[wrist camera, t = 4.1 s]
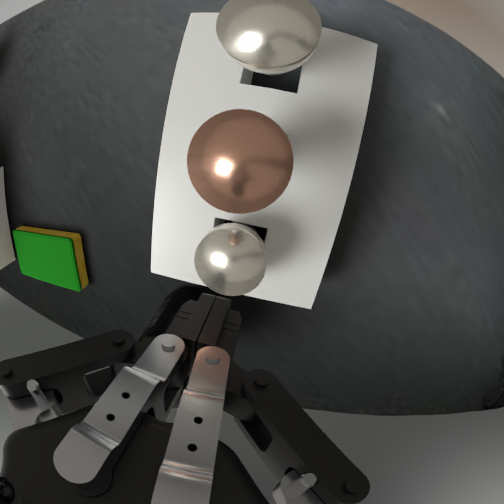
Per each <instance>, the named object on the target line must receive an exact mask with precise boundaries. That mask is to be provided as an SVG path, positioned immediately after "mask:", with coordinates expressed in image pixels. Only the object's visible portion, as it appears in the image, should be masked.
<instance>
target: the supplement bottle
mask: <svg viewBox="0 0 504 504" xmlns="http://www.w3.org/2000/svg"><path fill="white" fill-rule="evenodd" d="M202 293H203V292H201V291H198V290H195V289H190V288H183V289H178V290H175V291H173V292H172V293H170V294H169V295H168V296H167V297H166V299H165V300H164V302H163V303H162V304H161V306H160V308H159V309H158V311H157V312H156V314H155V315H154V317H153V318H152V320H151V321H150V323H149V325H148V326H147V328H146V329H145V331H144V332H143V334H142V336H141V337H140V339H139V341H138V342H152V341H153V340H154V339H155V338H156V337H157V336H159V335H162V334H165V333H166V331H167V330H168V328H169V326H170V325H171V323H172V321H173V320H174V318H175V317H176V315H177V313H178V312H179V310H180V308H181V307H182V305H183V304H184V303H186V302H187V301H189V300H194V301H198V300H199V298H200V296H201V294H202ZM189 378H190V376H189V375H187V377H186V379H185V382H184V386H183V389H182V391H181V393H180V395H179V397H178V399H177V400H176V402H175V404H174V406H173V408H178V407H179V404H180V400H181V397H182V394H183V391H184V389H185V388H187V385H188V382H189Z"/></svg>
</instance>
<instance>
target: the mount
mask: <svg viewBox="0 0 504 504" xmlns="http://www.w3.org/2000/svg"><path fill="white" fill-rule="evenodd" d="M218 15H219V13H191V15H190V18H189V21H188V25H187V28H186V31H185V35H184V38H183V42H182V46H181V49H180V53H179V57H178V61H177V65H176V69H175V74H174V78H173V82H172V87H171V92H170V97H169V102H168V107H167V112H166V118H165V124H164V130H163V136H162V143H161V149H160V157H159V165H158V173H157V182H156V192H155V203H154V216H153V231H152V253H151V272H152V273H156V274H160V275H164V276H167V277H171V278H175V279H179V280H183V281H187V282H191V283H195V284H199V285H203V286H206V285H205V284H204V283H203V282H202V281H201V279H200V278H199V276H198V274H197V272H196V269H195V264H194V256H195V252H196V249H197V247H198V245H199V243H200V242H201V241H202V239H203V238H204V237H205V236H206V234H207V233H208V232H209V231H210V230H212V229H213V228H215V227H216V226H219V225H221V224H224V223H225V219H226V220H231V221H235V222H240V223H245V224H249V225H254V226H259V227H263V228H267V232H266V236H265V241H264V244H265V247H266V250H267V263H266V270H265V274H264V277H263V279H262V281H261V283H260V284H259V285H258V286H257V287H256V288H255V289H254V290H252V291H251V292H249V293H246V294H243V295H246V296H250V297H255V298H259V299H264V300H269V301H273V302H278V303H283V304H288V305H293V306H298V307H303V308H308V309H311V307H312V305H313V302H314V299H315V296H316V293H317V291H318V288H319V285H320V282H321V279H322V276H323V273H324V270H325V267H326V264H327V261H328V258H329V255H330V252H331V249H332V246H333V243H334V239H335V236H336V233H337V230H338V226H339V223H340V219H341V216H342V213H343V209H344V205H345V202H346V198H347V195H348V191H349V187H350V183H351V179H352V176H353V172H354V168H355V163H356V159H357V155H358V151H359V146H360V142H361V138H362V133H363V128H364V123H365V119H366V114H367V108H368V103H369V98H370V92H371V86H372V80H373V74H374V67H375V61H376V53H377V46H378V44H375V43H373V42H370V41H367V40H364V39H361V38H359V37H355V36H352V35H349V34H346V33H343V32H339V31H336V30H332V29H328V28H324V27H322V31H321V36H320V39H319V42H318V45H317V47H316V50H315V52H314V54H313V55H312V56H311V58H310V59H309V60H308V61H307V62H305V63H304V64H303V65H302V69H301V74H300V79H299V84H298V89H297V93H292V92H287V91H282V90H277V89H271V88H266V87H260V86H254V85H251V82H252V77H253V72H254V71H251V70H248V69H246V68H243V67H242V66H240V65H238V64H237V63H236V62H235V61H234V60H233V59H232V58H231V57H230V56H229V55H228V53H227V52H226V50H225V49H224V47H223V46H222V44H221V43H220V41H219V39H218V36H217V32H216V21H217V17H218ZM233 109H247V110H253V111H257V112H259V113H262V114H264V115H266V116H268V117H269V118H271V119H272V120H273V121H275V122H276V123H277V124H278V125H279V126H280V127H281V128H282V130H283V131H284V132H285V134H286V136H287V137H288V139H289V142H290V144H291V147H292V151H293V158H294V162H293V172H292V176H291V179H290V181H289V184H288V186H287V187H286V189H285V191H284V192H283V193H282V195H281V196H280V197H279V198H278V199H277V200H276V201H275V202H273V203H272V204H271V205H269V206H267V207H266V208H264V209H261V210H259V211H256V212H252V213H246V214H235V213H228V212H225V211H222V210H219V209H217V208H215V207H213V206H211V205H210V204H209V203H207V202H206V201H205V200H204V199H203V198H202V197H201V196H200V195H199V194H198V193H197V191H196V190H195V188H194V187H193V185H192V183H191V180H190V178H189V174H188V169H187V153H188V148H189V145H190V142H191V140H192V138H193V136H194V134H195V133H196V131H197V130H198V129H199V127H200V126H201V125H202V124H203V123H204V122H206V121H207V120H208V119H209V118H211V117H213V116H214V115H216V114H219V113H221V112H224V111H227V110H233Z"/></svg>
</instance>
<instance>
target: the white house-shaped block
mask: <svg viewBox="0 0 504 504" xmlns="http://www.w3.org/2000/svg"><path fill="white" fill-rule="evenodd" d="M14 260H16V259H15V255H14V250H13V245H12V240H11V235H10V229H9V223H8V216H7V209H6V200H5V189H4V173H3V167H0V269H2V268H3V267H5V266H6V265H8V264H10V263H11V262H13V261H14Z"/></svg>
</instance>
